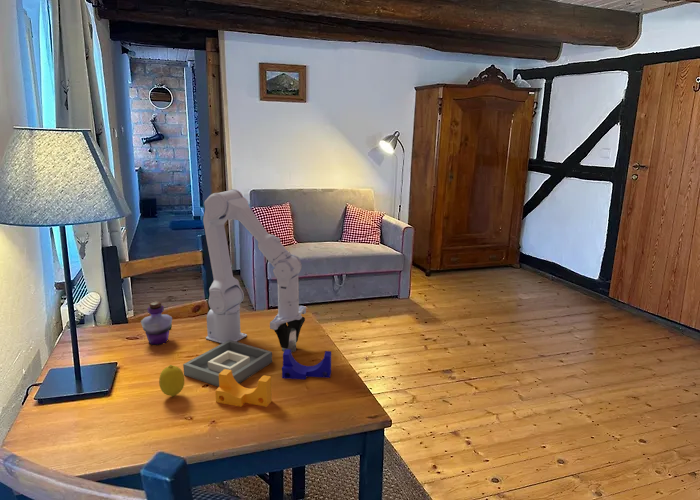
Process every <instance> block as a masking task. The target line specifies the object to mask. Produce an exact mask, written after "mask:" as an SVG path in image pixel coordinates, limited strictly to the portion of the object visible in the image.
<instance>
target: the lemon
mask: <svg viewBox="0 0 700 500" xmlns="http://www.w3.org/2000/svg"><path fill="white" fill-rule="evenodd" d="M184 386H185V375H184V371H183V370H182V369H181V368H180V367H179V366H176V365H173V364H169V365H168V366H166V367H164V369H162V371H160V374H159V388H160V390H161V392H162V393H163V394H164V395H165V396H168V397H169V396H171V397H172V398H173V397H175V396H176V395H178V394H180V392H182V390H183V389H184Z"/></svg>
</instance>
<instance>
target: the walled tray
mask: <svg viewBox="0 0 700 500" xmlns="http://www.w3.org/2000/svg"><path fill="white" fill-rule="evenodd" d="M271 363H273V352H272V351H271V350H268V349H267V350H266V349H263V348H259V347H256V346H253V345H249V344H245V343H242V342H239V341H237V342H236V341H232V340H228V341H226V342H224V343H220V344H219V345H217V346H215V347H213V348H211V349H209V350H207V351H205V352H204V353H202V354H200V355H198V356H196V357H194V358H192V359H190V360H189V361H187V362H184V363H183V364H182V366H183V368H182V369H183V375H184V377H185V376H186V377H189V378H192V379H194V380H197V381H201V382H202V383H205V384H209V385H212V386H214V387H217V388H218V387H219V373H220V372H221V371H223V370H224V369H228V370H232V375H233V377H234V379H235V380H236V382H237V383H238V384H240V385H241V383H243V382H245V381H246V380H248V379H249V378H250V377H252V376H253V375H255V374H256V373H258V372H260V371H261V370H262V369H264V368H265V367H267V366H268V365H270V364H271Z"/></svg>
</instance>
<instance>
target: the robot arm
mask: <svg viewBox="0 0 700 500" xmlns="http://www.w3.org/2000/svg"><path fill="white" fill-rule="evenodd" d="M248 202H249V201H248V199H247V198H246V197H244V195H243V194H242V192H241V191H239V190H238V189H233V188H232V189H229V190H225V191H221V192H214V193H211V194H210V195H209V196H208V197H207V198H206V199H205V200H204V203H203V204H204V214H203V219H202V220H203V226H204V233H205V238H206V244H207V249H208V254H209V260H210V261H209V262H210V266H211V267H210V268H211V271H212V277H213V281H212V283H211V285H210V287H209V289H208V292H209V297H208V306H209V308H210V309H209V311H208V312H207V314H206V331H207V333H206V334H207V336H205V339H206V340H208V341H209V340H210V341H212V342H216V343H220V344H222V343H224V342H226V341H228V340H232V341H236V342H239V341H241V340H242V339H244V338H245V337H247V336H248V334H247V333H243V332H241V331H242V330H241V314H240V313H241V311H240V310H241V309H240V308H241V303H242V302H243V300H244V298H245V295H244V291H243V289H242V287H241V285H240V282H239V279H237V278H236V277H234V276H233V275H234V273H233V268H232V262H231V258H230V251H229V246H228V244H229V243H228V239H227V234H226V227H225V224H226V222H227V221H229V220H234V221H239V222H240V223H241V225H242V226H243V227H244V228H245V229H246V230H247V231H248V232H249V233H250V235H252V236H253V237H254V239H255V240H256V241H257V248H258V249H259V251H260V253H262V255H263V256H264V257H265V259H266V260H267V261H268V263H270V265H271V266H272V267H273V269H272V271H273V275H274V277H275V278H276V281H277V284H276V285H277V309H278V311H277V314H276V315H275V317H274V318H273V319H272V320H271V321H270V322H269V329H270V330H273V331H274V332H275V334H276V336H277V338H278V342H279V346H280V348H281V349H282V348H286V349H287V348H288V346H289V336H290V332H291V329H292V328H295V329H296V343H297V342H298V340H299V337H300V332H301V330H302V327H303V325H304V323H305V321H306V318H305V317H304V316H302V314H303V315H304V314H306V313H307V307H306V306H304V305H300V304H299V303H300V298H299V297H300V295H299V294H300V292H299V283H300V282H299V274H300V272H301V271H302V268H303V266H302V260H300V257H299V256H298V255H296V254H293V253H291V252H290V251H288V249H287V248H286V247H285V246H284V245H283V243H282V242H281V241H282V240H281V238H280V237H279V236H276V234H270V233H268V231H267V230H266V229H265V228H264V226H263V225H262V223H261V221H260V220H259V219H258V217H257V215H255V213H254V212H253V211H252V209H251V207H250V206H249V203H248Z"/></svg>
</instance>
